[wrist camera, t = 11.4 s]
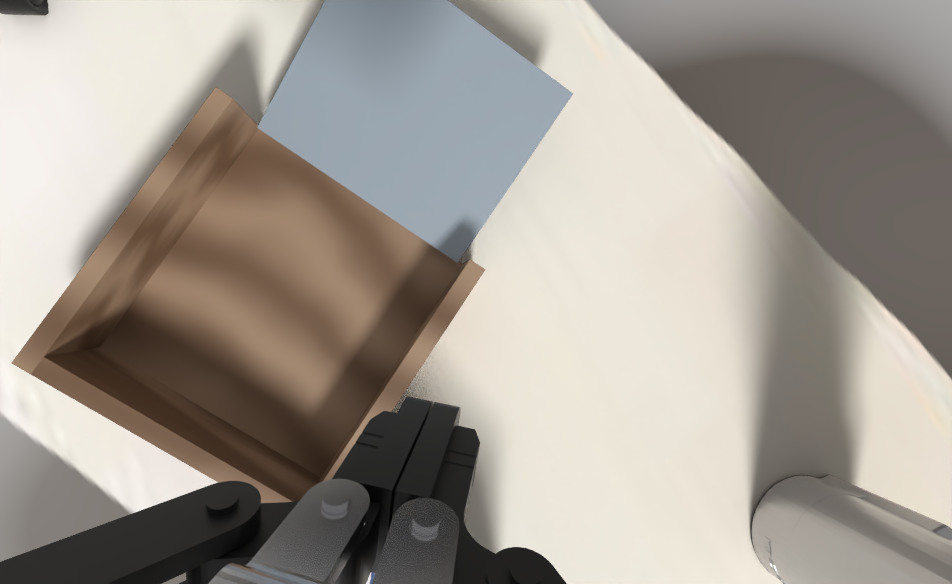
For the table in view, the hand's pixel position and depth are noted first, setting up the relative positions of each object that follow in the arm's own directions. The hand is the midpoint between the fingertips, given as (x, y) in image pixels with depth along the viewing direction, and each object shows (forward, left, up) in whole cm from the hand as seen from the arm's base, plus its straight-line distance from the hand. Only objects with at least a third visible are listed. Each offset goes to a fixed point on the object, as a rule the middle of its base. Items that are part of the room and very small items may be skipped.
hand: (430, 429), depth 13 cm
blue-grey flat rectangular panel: (0, -12, -22) cm, 25 cm away
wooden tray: (+8, -6, -24) cm, 26 cm away
